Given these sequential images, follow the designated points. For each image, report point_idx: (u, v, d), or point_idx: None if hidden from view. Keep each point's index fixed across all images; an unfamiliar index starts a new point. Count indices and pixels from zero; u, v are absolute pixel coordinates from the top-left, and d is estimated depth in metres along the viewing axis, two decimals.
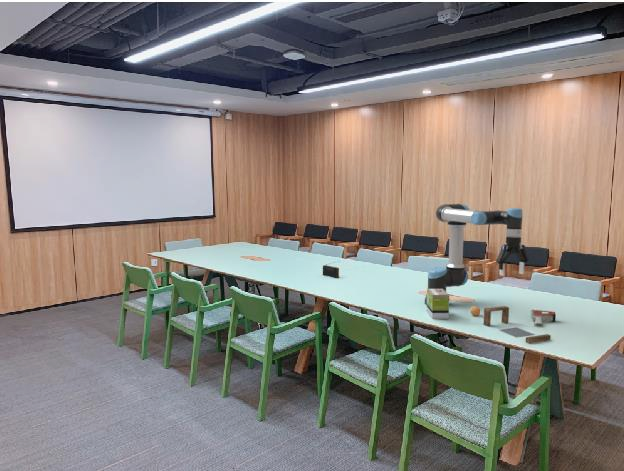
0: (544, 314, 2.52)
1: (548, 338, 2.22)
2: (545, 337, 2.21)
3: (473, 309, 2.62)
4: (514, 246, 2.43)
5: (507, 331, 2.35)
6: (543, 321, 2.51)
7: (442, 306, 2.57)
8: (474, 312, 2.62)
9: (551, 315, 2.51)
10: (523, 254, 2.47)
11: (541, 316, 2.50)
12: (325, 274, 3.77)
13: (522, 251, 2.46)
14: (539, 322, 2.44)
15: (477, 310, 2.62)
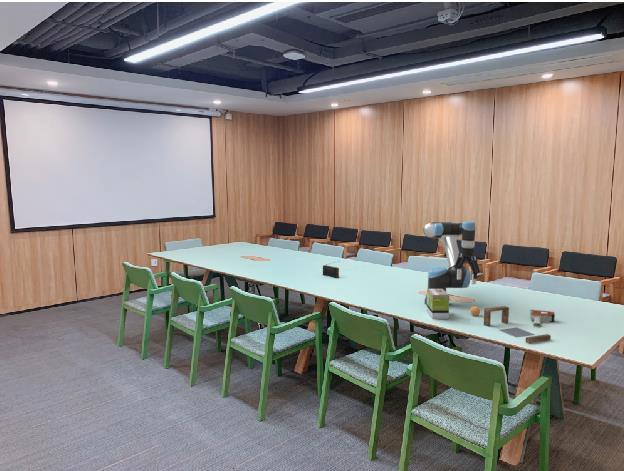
0: (543, 314, 2.52)
1: (548, 338, 2.22)
2: (545, 337, 2.21)
3: (473, 309, 2.62)
4: (465, 256, 2.69)
5: (507, 331, 2.35)
6: (542, 321, 2.51)
7: (442, 306, 2.57)
8: (474, 312, 2.62)
9: (550, 315, 2.51)
10: None
11: (540, 316, 2.50)
12: (325, 274, 3.77)
13: None
14: (538, 322, 2.44)
15: (477, 310, 2.62)
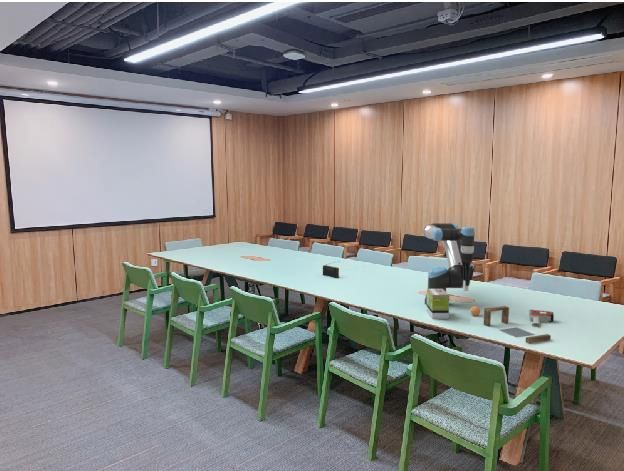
0: (542, 314, 2.52)
1: (548, 338, 2.22)
2: (545, 337, 2.21)
3: (473, 309, 2.62)
4: (465, 261, 2.69)
5: (507, 331, 2.35)
6: (541, 321, 2.51)
7: (442, 306, 2.57)
8: (474, 312, 2.62)
9: (549, 315, 2.51)
10: None
11: (539, 316, 2.50)
12: (325, 274, 3.77)
13: None
14: (536, 322, 2.44)
15: (477, 310, 2.62)
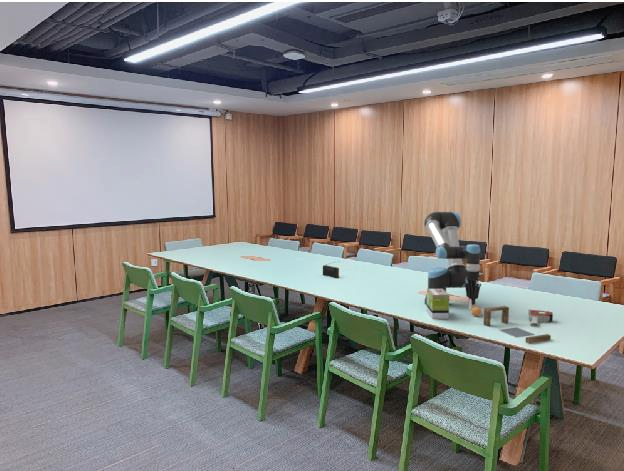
0: (541, 314, 2.52)
1: (548, 338, 2.22)
2: (545, 337, 2.21)
3: (475, 310, 2.61)
4: (470, 279, 2.65)
5: (507, 331, 2.35)
6: (540, 321, 2.51)
7: (442, 306, 2.57)
8: (475, 313, 2.61)
9: (548, 315, 2.51)
10: None
11: (538, 316, 2.50)
12: (325, 274, 3.77)
13: None
14: (535, 322, 2.44)
15: (478, 311, 2.60)
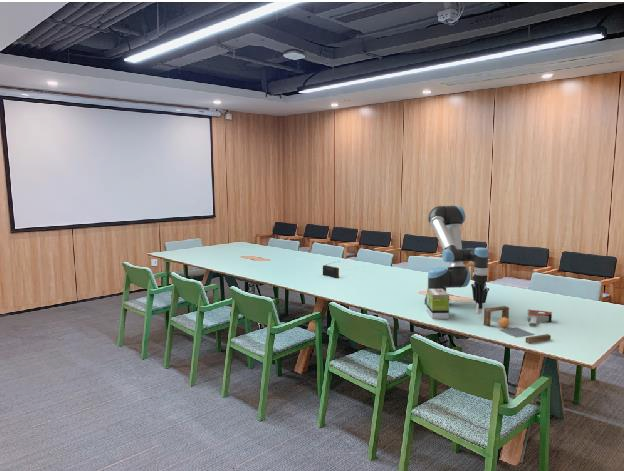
0: (540, 314, 2.52)
1: (548, 338, 2.22)
2: (545, 337, 2.21)
3: (501, 325, 2.41)
4: (478, 283, 2.59)
5: (507, 331, 2.35)
6: (539, 321, 2.51)
7: (442, 306, 2.57)
8: (499, 324, 2.43)
9: (547, 315, 2.51)
10: None
11: (536, 316, 2.50)
12: (325, 274, 3.77)
13: None
14: (533, 322, 2.44)
15: None
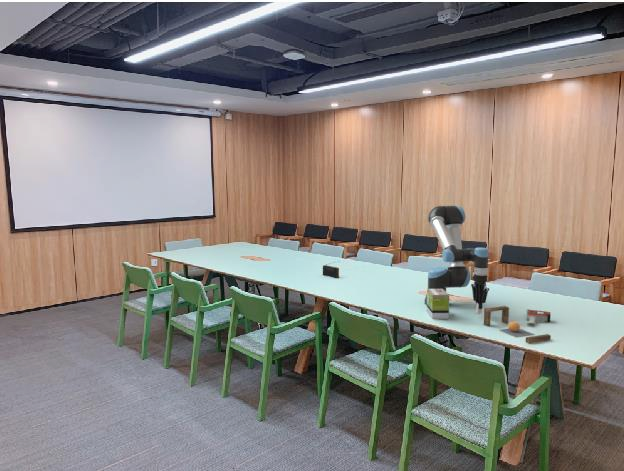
0: (538, 314, 2.52)
1: (548, 338, 2.22)
2: (545, 337, 2.21)
3: None
4: (478, 283, 2.59)
5: (507, 331, 2.35)
6: (537, 321, 2.51)
7: (442, 306, 2.57)
8: (511, 323, 2.34)
9: (546, 315, 2.51)
10: None
11: (535, 316, 2.51)
12: (325, 274, 3.77)
13: None
14: (532, 322, 2.45)
15: None
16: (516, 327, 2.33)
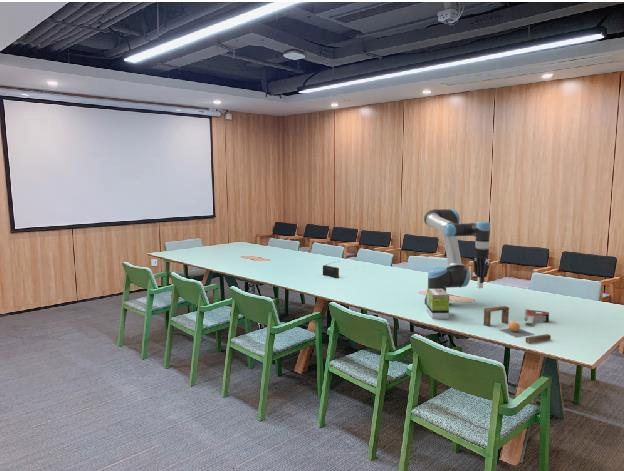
0: (537, 314, 2.52)
1: (548, 338, 2.22)
2: (545, 337, 2.21)
3: None
4: (479, 257, 2.58)
5: (507, 331, 2.35)
6: (536, 321, 2.51)
7: (442, 306, 2.57)
8: (511, 323, 2.34)
9: (544, 315, 2.51)
10: None
11: (533, 316, 2.51)
12: (325, 274, 3.77)
13: None
14: (530, 322, 2.45)
15: None
16: (516, 327, 2.33)
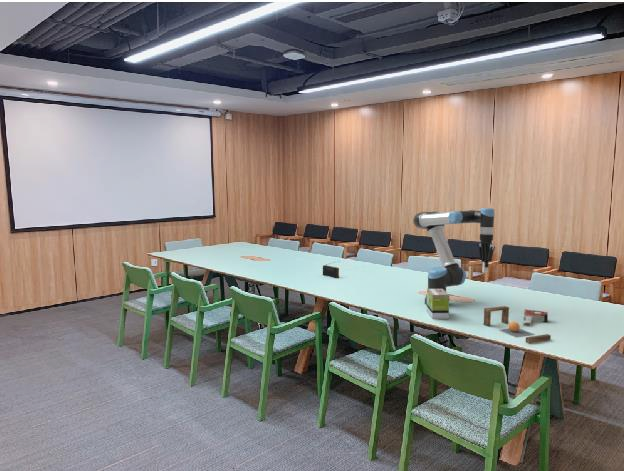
0: (535, 314, 2.52)
1: (548, 338, 2.22)
2: (545, 337, 2.21)
3: None
4: (484, 242, 2.67)
5: (507, 331, 2.35)
6: (534, 321, 2.51)
7: (442, 306, 2.57)
8: (511, 323, 2.34)
9: (543, 315, 2.51)
10: None
11: (532, 316, 2.51)
12: (325, 274, 3.77)
13: None
14: (528, 321, 2.45)
15: None
16: (516, 327, 2.33)
